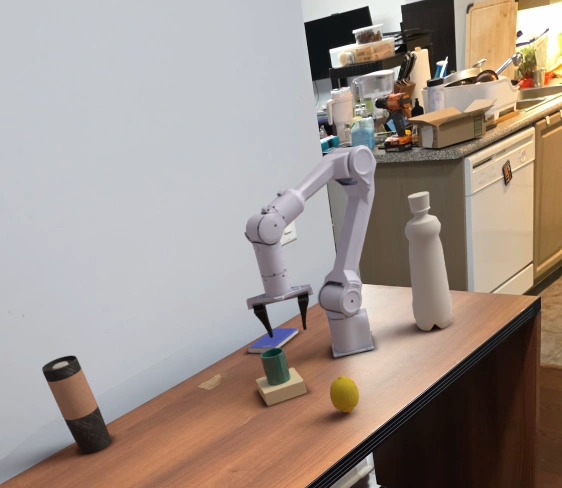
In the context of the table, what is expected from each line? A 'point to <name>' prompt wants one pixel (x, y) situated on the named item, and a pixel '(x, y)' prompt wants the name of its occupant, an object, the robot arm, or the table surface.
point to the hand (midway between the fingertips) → (288, 332)
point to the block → (281, 388)
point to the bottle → (427, 266)
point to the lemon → (344, 394)
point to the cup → (275, 366)
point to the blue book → (273, 340)
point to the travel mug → (77, 404)
